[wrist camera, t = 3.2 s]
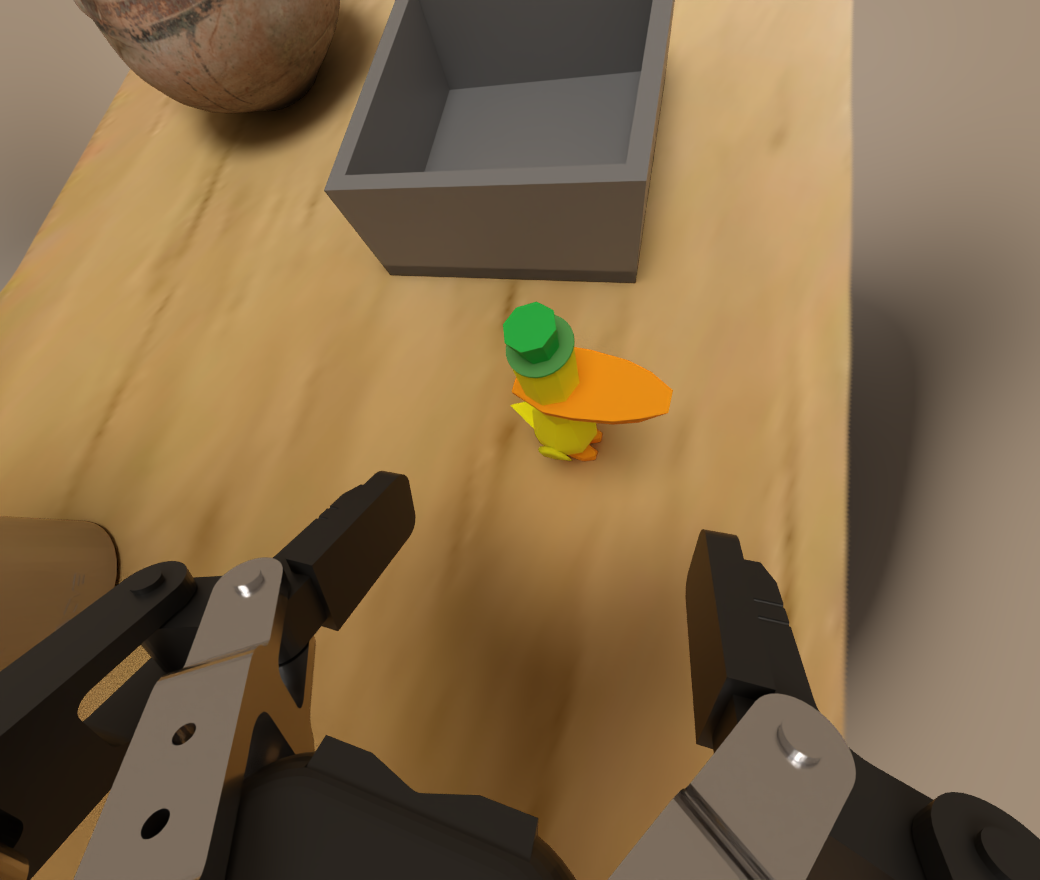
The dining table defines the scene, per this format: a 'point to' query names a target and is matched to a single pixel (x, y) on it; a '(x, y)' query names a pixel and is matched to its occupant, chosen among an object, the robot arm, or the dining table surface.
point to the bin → (507, 138)
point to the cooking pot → (221, 47)
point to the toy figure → (574, 385)
